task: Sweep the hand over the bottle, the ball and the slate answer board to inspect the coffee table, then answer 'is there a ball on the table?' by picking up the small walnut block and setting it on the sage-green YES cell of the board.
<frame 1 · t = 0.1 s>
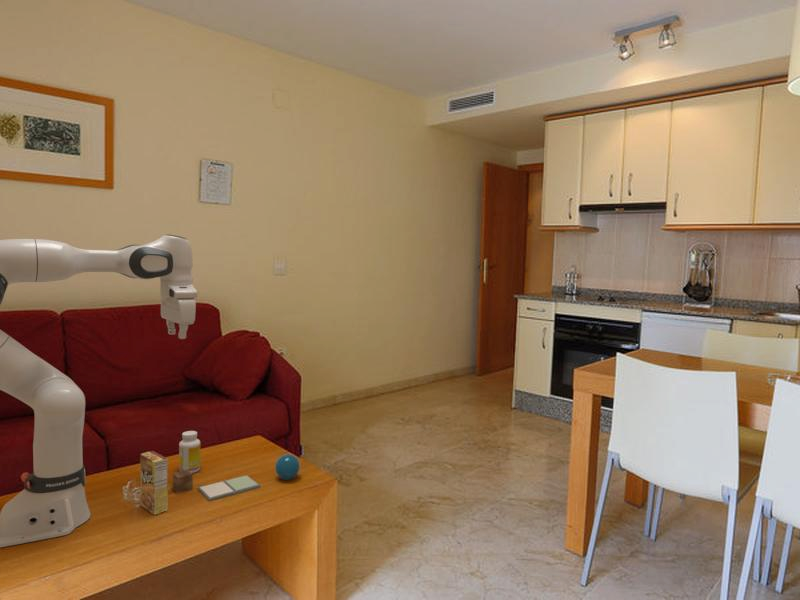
hand: (177, 336, 160), 48 cm above the table, tool pointing down, fingers open, 8 cm apart
walnut token: (182, 489, 166), on the table
answer board: (229, 488, 167), on the table
ball: (287, 479, 175), on the table
candy box: (154, 508, 153), on the table
supplement bottle: (190, 470, 180), on the table
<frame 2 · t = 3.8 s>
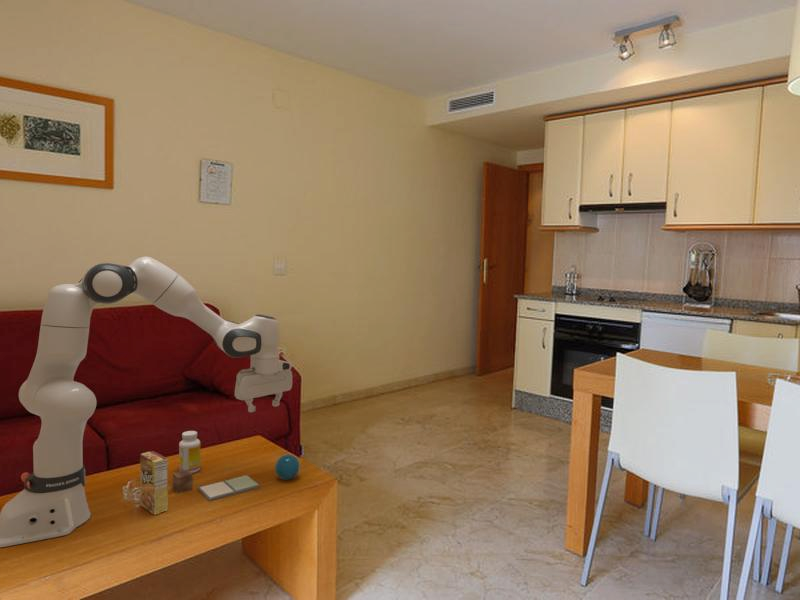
hand: (264, 408, 170), 24 cm above the table, tool pointing down, fingers open, 8 cm apart
nothing on the table moved.
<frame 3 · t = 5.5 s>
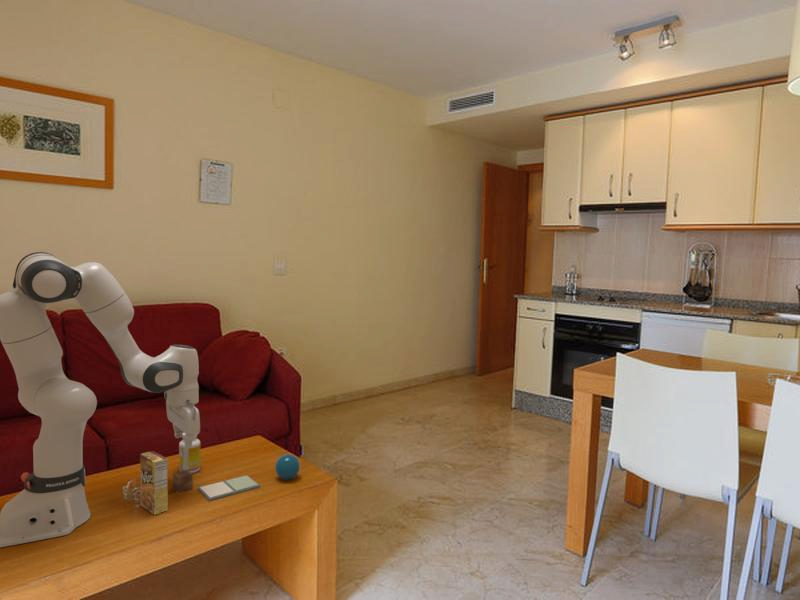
hand: (183, 441, 164), 15 cm above the table, tool pointing down, fingers open, 8 cm apart
nothing on the table moved.
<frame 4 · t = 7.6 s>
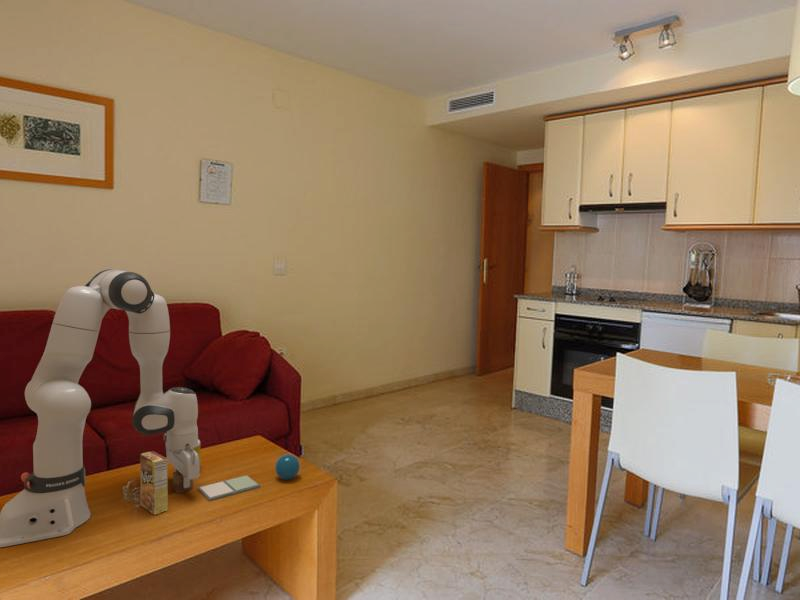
hand: (182, 483, 165), 2 cm above the table, tool pointing down, fingers closed on walnut token, 4 cm apart
walnut token: (182, 488, 166), on the table, touching gripper
everything else where it was.
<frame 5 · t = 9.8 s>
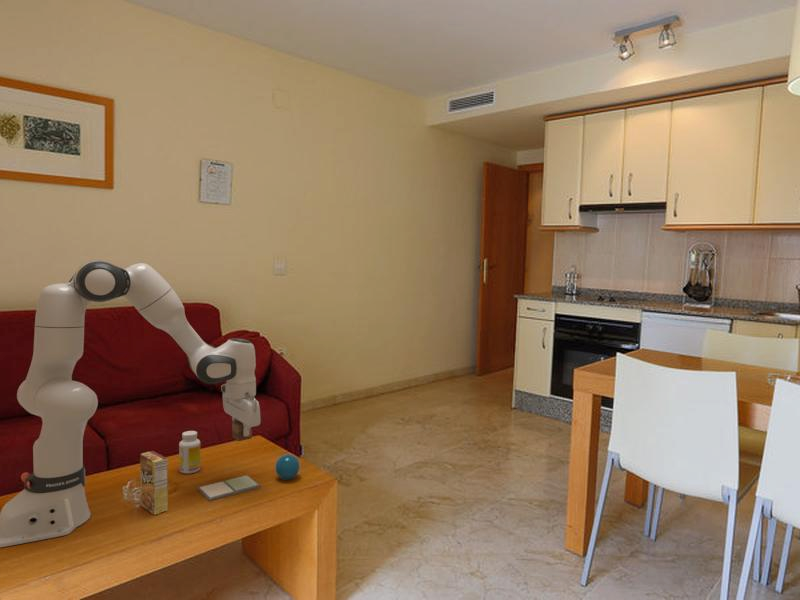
hand: (241, 432, 168), 17 cm above the table, tool pointing down, fingers closed on walnut token, 4 cm apart
walnut token: (242, 437, 168), point 15 cm above the table, touching gripper
everything else where it was.
when the fingers open (4 cm above the table, at t = 12.5 s): walnut token drops 2 cm, resting on answer board.
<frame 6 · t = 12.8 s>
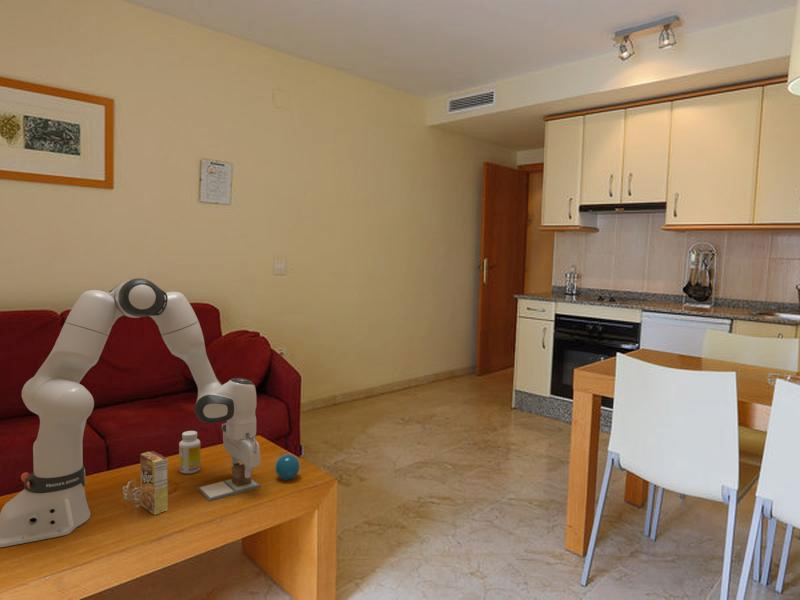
hand: (241, 472, 169), 4 cm above the table, tool pointing down, fingers open, 7 cm apart
walnut token: (241, 482, 169), point 1 cm above the table, touching answer board
everything else where it was.
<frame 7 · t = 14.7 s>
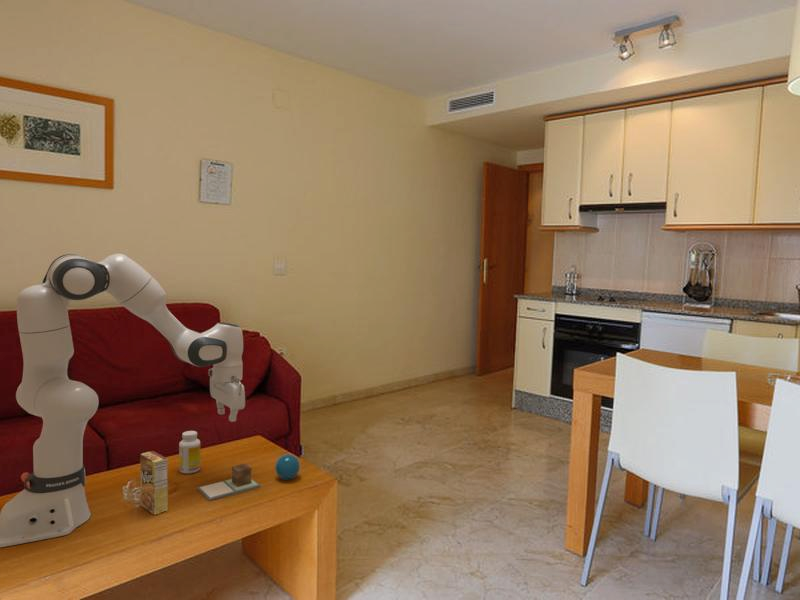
hand: (226, 417, 169), 21 cm above the table, tool pointing down, fingers open, 8 cm apart
nothing on the table moved.
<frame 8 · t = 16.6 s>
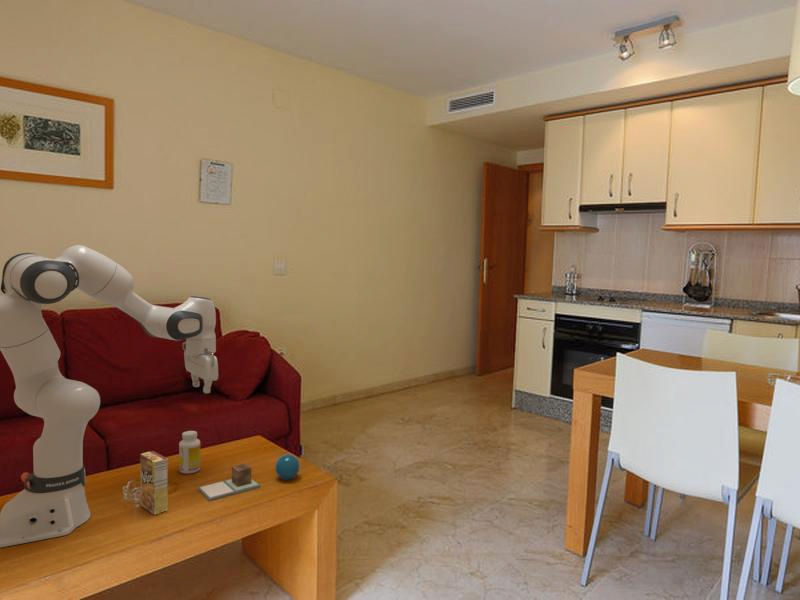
hand: (201, 389, 172), 29 cm above the table, tool pointing down, fingers open, 8 cm apart
nothing on the table moved.
at the end: walnut token inside the target area on the answer board (0.5 cm from its centre), point 0.8 cm above the answer board's base; walnut token tilted 0°; the gripper is holding nothing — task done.
